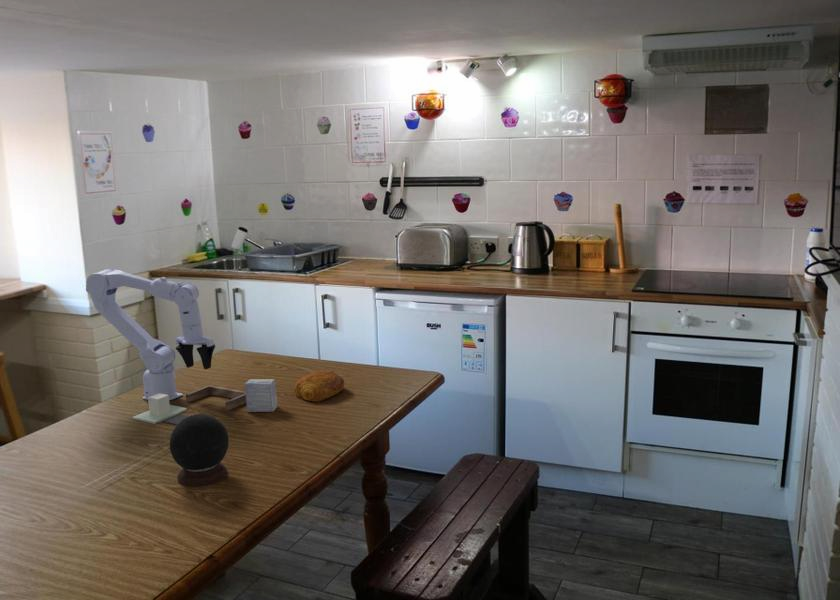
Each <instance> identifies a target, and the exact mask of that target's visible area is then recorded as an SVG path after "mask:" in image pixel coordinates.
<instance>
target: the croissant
mask: <svg viewBox="0 0 840 600" xmlns="http://www.w3.org/2000/svg"><path fill="white" fill-rule="evenodd" d="M344 386H345V380H344V378H343V377H342V376H341V375H339V374H337V373H336V372H334V371H331V370H317V371H313V372H311V373H308V374H306V375H304V376H302V377H300V378H299V379H298V380H297V381H296V384H295V387H294V394H295V396H296V397H297V398H299V399H302V400H305V401H310V402H320V401H324V400H327V399H329V398H331V397H333V396H335V395H337V394H339V393H340V392H341V391H342V390H343V388H344Z"/></svg>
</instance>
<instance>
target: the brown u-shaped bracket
mask: <svg viewBox="0 0 840 600" xmlns="http://www.w3.org/2000/svg"><path fill="white" fill-rule="evenodd" d="M209 395H212V396H217V397H221V398H226V399H227V398H228V400H226V401H224V403H225V404H224V405H225V411H228V412H229V411H232V410H233V409H235V408H237V407H239V406H242V405H244V404H246V393H245V390H244V391H243V390H237V389H232V388H228V387H227V388H226V387H222V386H221V387H220V386H215V385H212V384H211V385H210V384H209V385H206V386H204V387H201V388H198V389H196V390H194V391H191V392H188V393H185V397H186V403H187V404H189V403H191V402H194V401H197V400H199V399H201V398H204V397H207V396H209Z"/></svg>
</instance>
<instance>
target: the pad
mask: <svg viewBox="0 0 840 600" xmlns="http://www.w3.org/2000/svg"><path fill="white" fill-rule="evenodd" d="M187 411H188V408H187V407H182V406H178V405H173V404H170V412H168V413H165V414H163V415H161V416H157V415H153V414H150V413H149V410H147V411H144V412H142V413H140V414H137V415H134V416H132V418H131V419H132V420H134V421H135V420H136V421H138V422H139V421H140V422H145V423H148V424H153V425H156V424H159V423H160V422H162V421H163V422H164V421H165V420H168V419H170V418H172V417H175V416H177V415H180V414H182V413H184V412H187Z"/></svg>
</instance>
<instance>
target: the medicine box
mask: <svg viewBox="0 0 840 600" xmlns="http://www.w3.org/2000/svg"><path fill="white" fill-rule="evenodd" d="M276 385H277V384H276V379H274V378H273V379H272V378H271V379H270V378H266V379H265V378H264V379H263V378H261V379H259V378H258V379H257V378H256V379H255V378H254V379H252V378H251V379H249V380H247V381H246V383H245V384H244V389H245V390H244V392H245V393H246V403H245V404H246V411H247V412H248V413H252V412H253V413H259V412H261V413H265V412H267V413H269V412H271V413H273V412H274V411H275V410H276V409H277V408H278V399H277V398H278V396H277V389H276V388H277V387H276Z"/></svg>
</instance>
